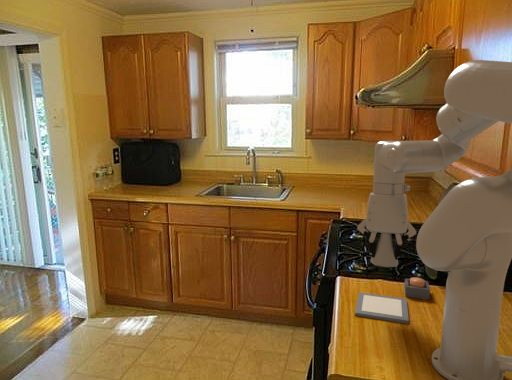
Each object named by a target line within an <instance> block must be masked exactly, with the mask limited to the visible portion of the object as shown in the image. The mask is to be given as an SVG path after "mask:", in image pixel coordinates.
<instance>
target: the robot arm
mask: <svg viewBox="0 0 512 380" xmlns="http://www.w3.org/2000/svg"><path fill="white" fill-rule="evenodd" d="M443 96H444V100H445V102H446V103H445V104H444V105H442V106H441V107H440V108H439V110H438V111H437V113H436V117H435V119H436V125H437V128H438V130H439V132H440V133H441V134H440V135H439V136H437V137H436V138H434V139H432V140H431V139H430V140H427V139H426V140H424V139H423V140H380V141H378V142H377V143H375V145H374V162H373V181H372V185H373V186H372V192H370V193H369V196H368V200H367V208H366V216H365V218H364V219H363V220H362V221H361V222H360V223H359V224H358V225H357V226H356V227H357V228H356V229H357V231H359V232H360V233H361V234H362V235H363V236H364V237H365V238H366V239H367V241H368V242H369V253H370V254H372V255H371V258H372V257H375V249H376V247H377V240H376V235H377V233H380V234H381V233H391V235H392V234H394V235H395V236H394V237H395V242H394V250H395V259H396V260H397V259H398V257H400V256H401V250H402V249H401V248H402V245H403V244H404V243H405V242H406V241H408V240H409V239H410V238H411V237H414V236H415V235H417V236H416V241H415V243H416V244H415V247H416V248H415V249H416V253H417V255H418V257H419V259H420V260H421V262H422V263H423V264H424V266H425V265H427V266H428V267H430V268H432V269H434V270H437V272H438V271H440V272H449V273H448V276H447V279H446V284H445V292H444V294H445V295H444V303H443V304H444V306H443V316H442V329H441V341H440V347H438V348H436V349H435V350H434V351H432V354H431V364H432V366H433V368H434V369H435V371H437V372H438V373H439V374H440V376H442V377H443V378H445V379H447V380H504V374H505V373H506V372H508V373H512V356H509V355H508V356H507V355H500V354H499V353H498V352H497V347H498V338H499V328H500V319H501V311H502V303H503V293H504V287H505V281H506V276H507V273H508V269H509V266H510V264H511V261H512V167H511V168H510V169H508V170H507V171H506V172H504V173H502V174H499V175H495V176H481V177H473V178H469V179H466V180H463V181H461V182H460V183H458V184H457V185H455V186H453V188H451V189H450V190H449V191H448V192H447V194H446V195H445V196H444V198H443V199H441V201H440V202H439V204H437V206H436V207H435V208H434V209H433V211H432V212H431V213H430V215H429V216H428V217H427V219H426V220H425V221H424V223H423V224H422V225H421V227H420V229H419V231H418V233H417V231H416V229H415V227H414V226H413V225H412V224H411V222H410V221H409V220H408V217H409V213H408V211H409V210H408V209H409V206H408V197H407V196H408V195H407V194H405V192H408V191H409V192H410V191H411V185H408V184H406V183H405V178H406V176H405V175H406V174H414V173H430V172H431V173H435V172H438V171H441V170H443V169H445V168H447V167H448V166H450V165H451V164H453V163H456V162H457V161H458V160H460V159H461V158H462V157H464V156H465V154H467V151H468V150H469V148H470V145H471V144H472V140H473V139H474V138H475V137H477V136H479V135H480V134H483V132H485V131H486V130H488V129H489V128H491V127H492V126H494V125H495V124H497V123H500V122H502V123H507V124H511V125H512V62H511V61H500V60H487V59H486V60H485V59H473V60H468V61H466V62H464V63H462V64H460V65H459V66H458V67H456V68H455V69H454V70H453V71H452V72H451V73H450V75H449V76H448V78H447V79H446V81H445V84H444V89H443ZM365 227H366V228H365ZM407 231H408V232H407ZM402 234H403V235H402Z"/></svg>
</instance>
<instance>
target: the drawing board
mask: <svg viewBox="0 0 512 380" xmlns="http://www.w3.org/2000/svg"><path fill="white" fill-rule="evenodd" d="M355 315H357V316H356V317H363V318H369V319H374V320H375V319H376V320H382V321H387V322H388V321H389V322H395V323H400V324H401V323H402V324H406V325H407V324H408V325H409V323H410V320H409V309H408V299H407V298H403V297H397V296H390V295H389V296H387V295H382V294H381V295H380V294H374V293H366V292H358V295H357V300H356V305H355V311H354V316H355Z"/></svg>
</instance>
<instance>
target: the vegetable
mask: <svg viewBox="0 0 512 380" xmlns="http://www.w3.org/2000/svg"><path fill="white" fill-rule="evenodd" d="M424 267H425V268H424V269H425V272H426V274H427V276H428V277H429V278H430V279H432V280H436V279H437V274H438V270H434V269H432V268H430V267H428V266H427V265H425V264H424Z"/></svg>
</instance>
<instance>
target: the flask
mask: <svg viewBox="0 0 512 380" xmlns="http://www.w3.org/2000/svg"><path fill="white" fill-rule="evenodd" d="M392 238H393V237H392V233H380V235H379V240H378V242H377V243H376V249H375V257H372V256H371V258H370V263H372V264H373V265H374V266H376V267H377V266H378V267H384V268H394V267H395V268H397V267H398V265H399V260H398V258H397V260H396V259H395V246H394V244H393V243H394V242H393V239H392Z"/></svg>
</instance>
